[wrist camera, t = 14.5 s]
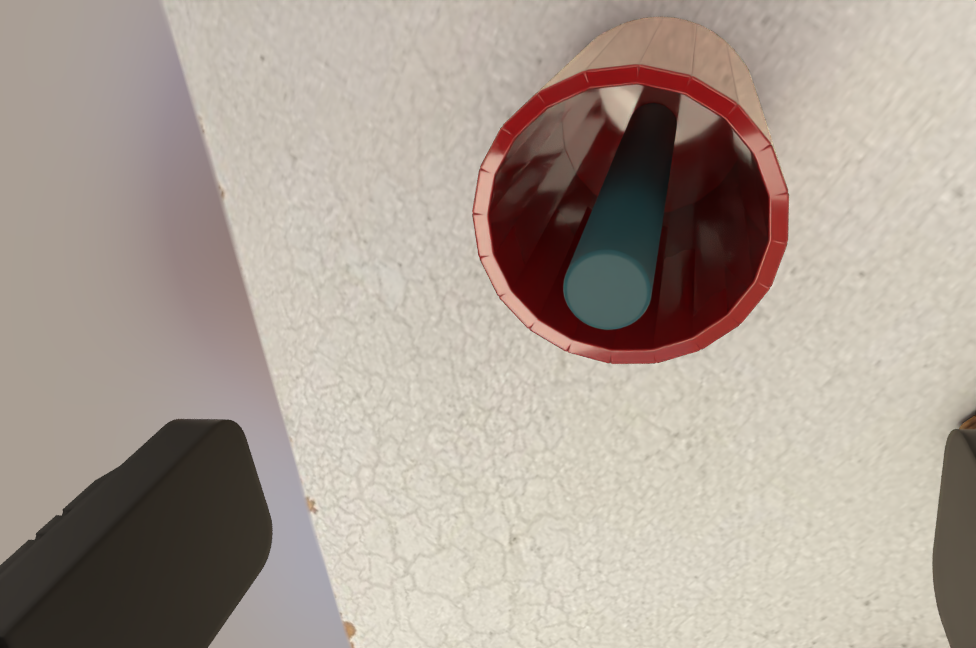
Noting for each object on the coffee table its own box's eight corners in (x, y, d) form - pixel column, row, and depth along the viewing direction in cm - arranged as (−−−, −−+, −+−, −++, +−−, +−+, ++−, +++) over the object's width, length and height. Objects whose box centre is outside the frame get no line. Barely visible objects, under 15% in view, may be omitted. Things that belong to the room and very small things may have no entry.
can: (564, 224, 29) (494, 365, 20) (543, 30, 26) (451, 84, 17) (757, 212, 27) (786, 363, 18) (758, 2, 24) (791, 46, 15)
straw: (629, 152, 27) (566, 332, 15) (626, 105, 26) (557, 252, 14) (677, 148, 26) (654, 330, 14) (675, 100, 26) (648, 247, 14)
